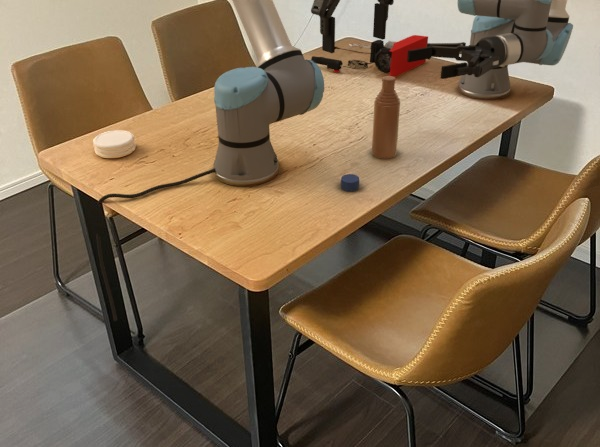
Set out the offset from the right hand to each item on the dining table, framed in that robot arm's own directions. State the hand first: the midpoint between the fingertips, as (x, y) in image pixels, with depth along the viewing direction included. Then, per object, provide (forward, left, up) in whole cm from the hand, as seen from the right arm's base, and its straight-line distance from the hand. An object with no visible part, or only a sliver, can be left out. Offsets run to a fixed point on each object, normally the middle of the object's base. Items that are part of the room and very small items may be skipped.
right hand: (424, 64), depth 145 cm
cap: (+28, -1, -19) cm, 34 cm away
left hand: (+28, -1, +11) cm, 30 cm away
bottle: (+9, -4, -21) cm, 23 cm away
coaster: (+49, -58, -21) cm, 79 cm away
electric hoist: (-45, -46, -21) cm, 67 cm away
